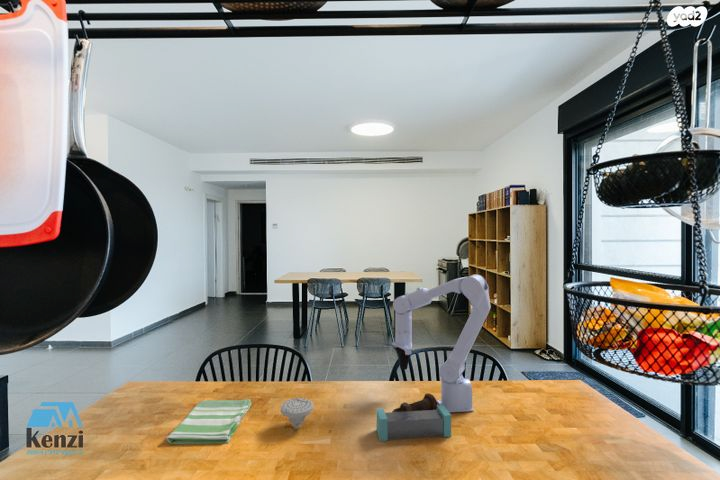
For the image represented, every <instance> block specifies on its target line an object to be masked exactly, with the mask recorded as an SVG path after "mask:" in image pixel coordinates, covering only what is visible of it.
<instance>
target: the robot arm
mask: <svg viewBox="0 0 720 480" xmlns="http://www.w3.org/2000/svg"><path fill="white" fill-rule="evenodd" d="M489 287H490V286H489V285H488V283H487V282H486V279H485V278H484V277H483V276H482V275H480V274H472V275H470V276H464V277H458V278H455V279H452V280H449V281H446V282H445V283H442V284H440V285H438V286H435V287H433V288H430V289H429V288H428V287H427V288H426V287H421V286H420V287H417V288H416V290H414V291H412V292H405V293H404V295H400V296H397V297H396V298H394V301H393V303H392V309H393V310H394V312H395V314H394V315H395V318H394V319H395V320H394V321H395V322H394V323H395V324H394V325H395V326H394V327H395V333H394V337H395V341H394V342H393V341H391V345H392V346H393V347H394V350H395V352H396V356H397V359H398V365H399V369H400V370H403V371H404V370H407V369H408V366H409V363H410V358H411V357H412V354H413V348H412V347H413V339H412V338H413V334H412V332H413V331H412V330H413V327H412V324H413V322H412V321H413V320H412V319H413V317H412V315H413V312H412V311H413V310H416V309H418V308H422V307H424V306H427V305H430V304H431V303H432V301H433V299H434V298H437V297H440V296H444V295H445V294H446V295H447V294H449V293H456V294H462V295H464V296H465V297H466V298H467V299H468V301H469V303H470V305H471V308H472V310H471V312H470V314H469V316H468V319H467V321H466V322H465V325H464V327H463V328H462V331H461V333H460V335H459V337H458V338H457V341H456V343H455V345H454V347H453V349H452V351H451V353H450V354H449V355H448V358H447V359H446V361H445V362H444V363H442V364H441V365H440V367H439V371H438V373H439V375H440V379H441V380H440V381H441V382H440V388H441V389H440V390H441V391H440V392H441V393H440V394H441V395H440V396H441V397H440V399H436V401H437V405H444V406H445V408H446V409H447V410H448V412H449V413H461V412H463V413H464V412H473V411H474V409H473V386H472V383H471V381H470V379H469V378H465V377H464V376H463V372H465V369H466V360H467V358H468V355H469V353H470V351H471V349H472V347H473V344H475V341H476V339H477V337H478V335H479V333H480V331H481V329H482V327H483V325H484V323H485V321H486V319H487V317H488V315H489V313H490V310H491V307H492V305H491V301H490V299H491V298H490V293H489V292H490V291H489Z"/></svg>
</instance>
